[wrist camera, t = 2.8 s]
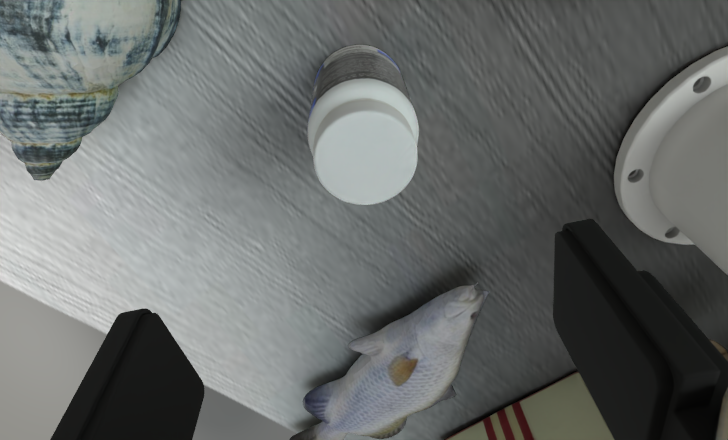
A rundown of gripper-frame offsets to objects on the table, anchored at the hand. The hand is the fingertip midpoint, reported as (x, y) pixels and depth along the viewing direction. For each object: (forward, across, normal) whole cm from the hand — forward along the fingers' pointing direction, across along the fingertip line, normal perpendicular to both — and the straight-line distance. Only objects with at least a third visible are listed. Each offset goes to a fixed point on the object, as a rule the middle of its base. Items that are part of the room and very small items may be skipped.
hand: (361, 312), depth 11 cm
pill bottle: (+16, -1, 0) cm, 16 cm away
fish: (+15, +6, +18) cm, 24 cm away
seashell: (+17, +11, -6) cm, 21 cm away
